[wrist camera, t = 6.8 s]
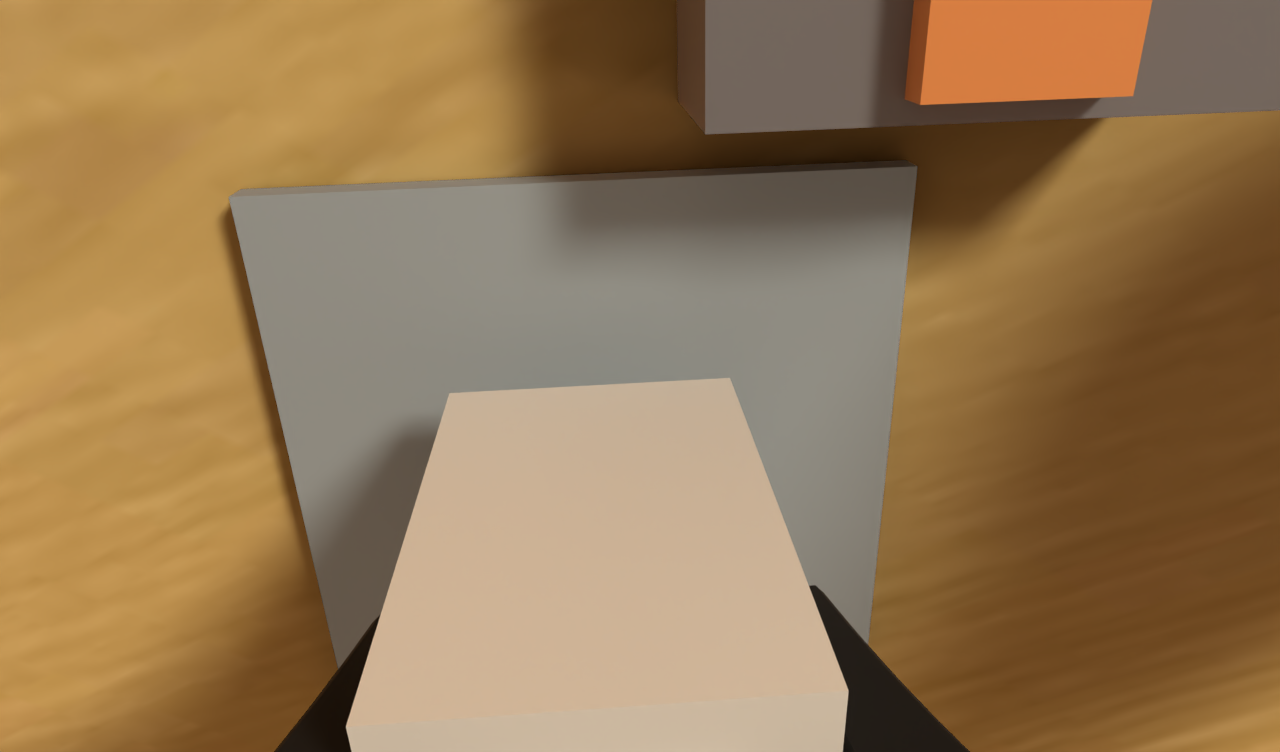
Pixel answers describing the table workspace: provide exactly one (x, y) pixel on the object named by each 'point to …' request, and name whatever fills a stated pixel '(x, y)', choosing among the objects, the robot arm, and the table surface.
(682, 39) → the power strip
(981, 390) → the table surface
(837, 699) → the block
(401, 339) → the mat
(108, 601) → the table surface
